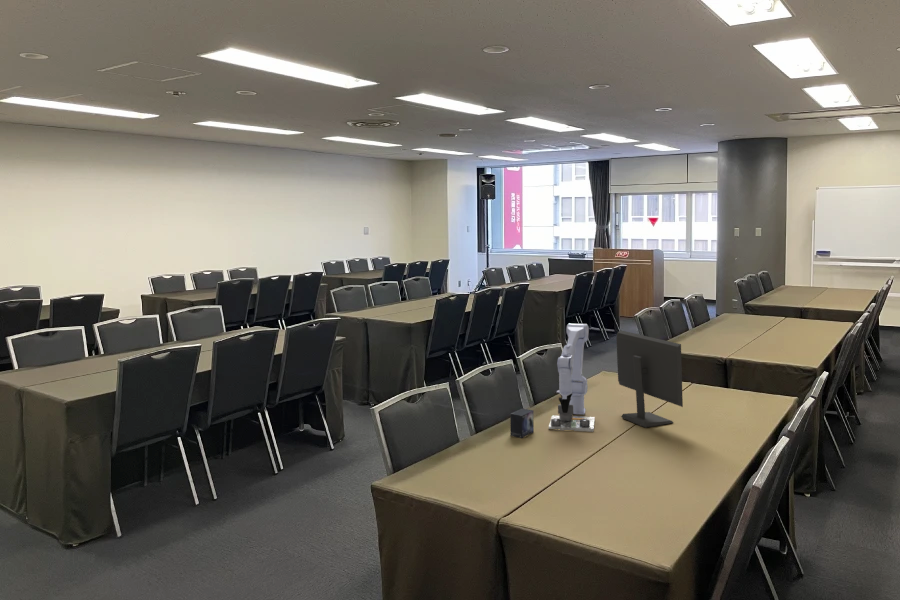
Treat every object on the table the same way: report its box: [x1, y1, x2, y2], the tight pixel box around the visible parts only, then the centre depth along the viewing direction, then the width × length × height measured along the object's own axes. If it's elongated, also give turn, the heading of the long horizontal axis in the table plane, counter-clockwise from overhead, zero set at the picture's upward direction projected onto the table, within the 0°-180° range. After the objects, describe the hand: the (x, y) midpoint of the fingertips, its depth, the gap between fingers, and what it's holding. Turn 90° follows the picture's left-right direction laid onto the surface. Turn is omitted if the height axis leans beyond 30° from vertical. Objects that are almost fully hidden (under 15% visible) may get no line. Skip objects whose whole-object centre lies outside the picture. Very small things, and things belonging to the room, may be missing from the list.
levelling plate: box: [548, 414, 596, 433], centre depth 313 cm, size 18×20×4 cm
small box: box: [509, 407, 534, 439], centre depth 301 cm, size 11×6×10 cm, turn 143°
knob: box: [557, 403, 584, 421], centre depth 314 cm, size 6×12×7 cm, turn 76°
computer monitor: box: [616, 330, 684, 429], centre depth 313 cm, size 44×16×40 cm, turn 22°
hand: (565, 410), depth 315 cm, fingers open, 7 cm apart
